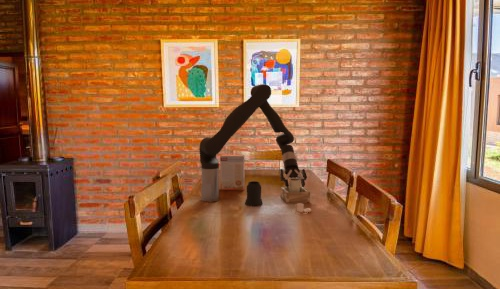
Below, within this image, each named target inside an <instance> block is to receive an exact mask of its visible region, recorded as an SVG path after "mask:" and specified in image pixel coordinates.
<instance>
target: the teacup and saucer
mask: <svg viewBox="0 0 500 289" xmlns="http://www.w3.org/2000/svg"><path fill="white" fill-rule="evenodd" d="M304 205H305V203H295V206H296V207H294V208H293V209H292V210H291V212H292V214H293V213H294V214H297V215H301V214H300V213H303V212H304V213H303V214H302V215H307V214H308V212H309V213H311V212H312V208H309V207H307V208H305V207H304ZM296 211H297V212H296ZM295 212H296V213H295ZM306 212H307V213H306Z"/></svg>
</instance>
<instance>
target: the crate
mask: <svg viewBox="0 0 500 289" xmlns="http://www.w3.org/2000/svg"><path fill="white" fill-rule="evenodd" d="M280 198H281V199H282V200H283V201H284V202H285V203H286V204H298V203H303V204H305V203H306V204H307V202H310V201H311V191H309V190H308V189H306V188H305V186H304V187H302V186H300V192H289V187H288V188H287V187H286V186H281V187H280Z"/></svg>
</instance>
